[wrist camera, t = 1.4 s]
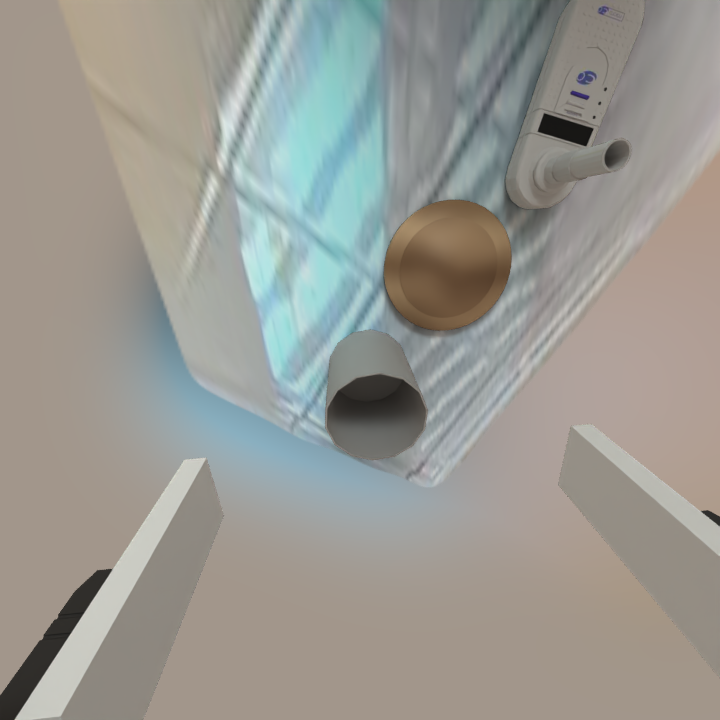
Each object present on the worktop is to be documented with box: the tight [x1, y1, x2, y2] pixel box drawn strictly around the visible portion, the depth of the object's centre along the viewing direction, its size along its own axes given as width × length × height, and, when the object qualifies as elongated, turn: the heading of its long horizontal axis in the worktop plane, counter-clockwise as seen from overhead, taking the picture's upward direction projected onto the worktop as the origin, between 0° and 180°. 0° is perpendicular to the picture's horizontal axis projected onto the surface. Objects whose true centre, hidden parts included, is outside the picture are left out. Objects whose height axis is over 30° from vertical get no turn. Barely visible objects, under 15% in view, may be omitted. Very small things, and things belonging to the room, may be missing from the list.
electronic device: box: [505, 0, 645, 209], centre depth 23 cm, size 5×10×15 cm
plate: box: [384, 200, 511, 331], centre depth 32 cm, size 12×12×1 cm
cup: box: [325, 329, 428, 460], centre depth 31 cm, size 8×8×10 cm
